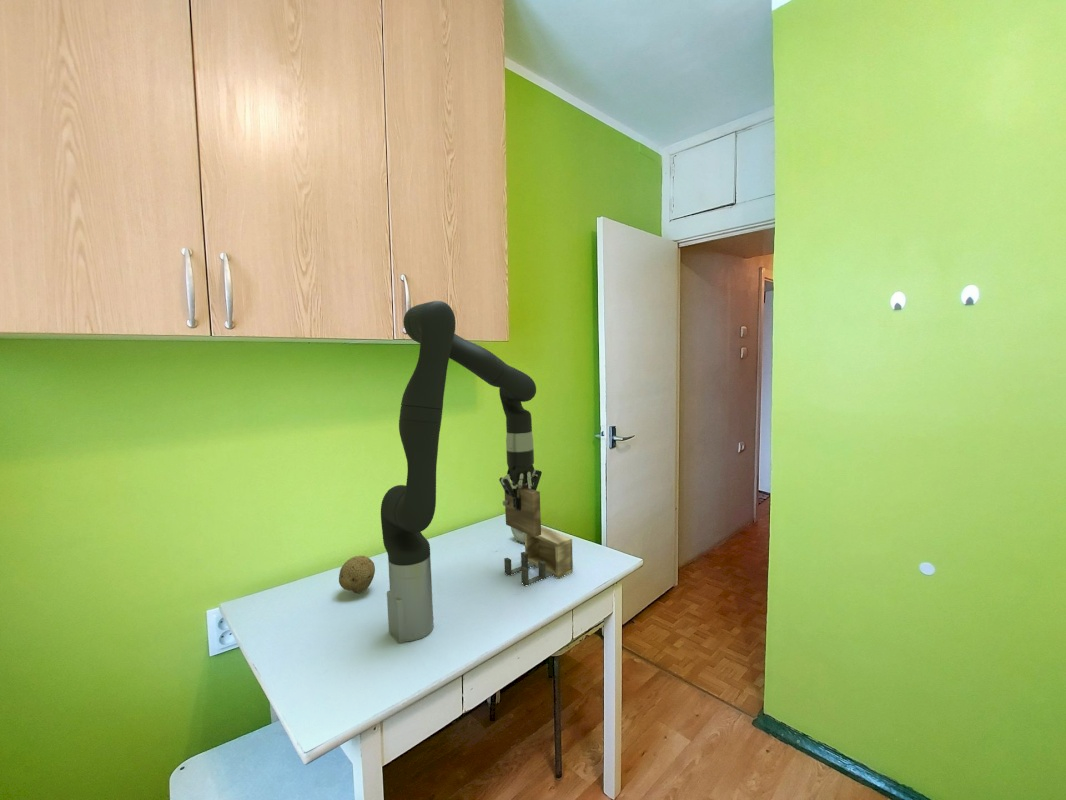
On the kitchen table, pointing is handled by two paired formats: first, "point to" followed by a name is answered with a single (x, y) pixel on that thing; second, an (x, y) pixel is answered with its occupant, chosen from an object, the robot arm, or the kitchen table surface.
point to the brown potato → (357, 574)
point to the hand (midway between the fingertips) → (522, 508)
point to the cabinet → (544, 556)
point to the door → (524, 512)
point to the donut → (518, 535)
